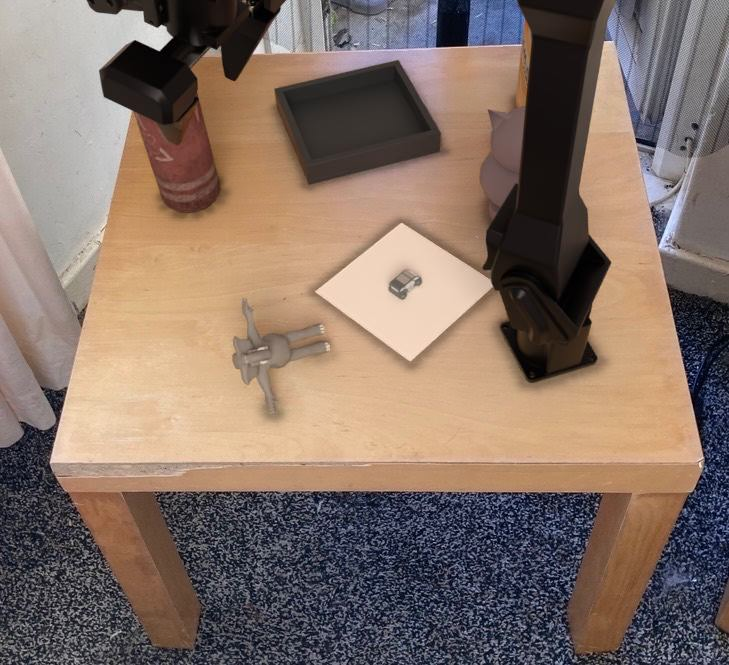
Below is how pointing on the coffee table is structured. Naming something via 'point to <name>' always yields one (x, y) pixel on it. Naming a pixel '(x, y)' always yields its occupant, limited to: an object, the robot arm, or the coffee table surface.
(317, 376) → the coffee table surface
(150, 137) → the can
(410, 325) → the cream square coaster
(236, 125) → the coffee table surface
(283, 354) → the elephant figurine
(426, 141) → the tray
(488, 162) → the cat figurine
